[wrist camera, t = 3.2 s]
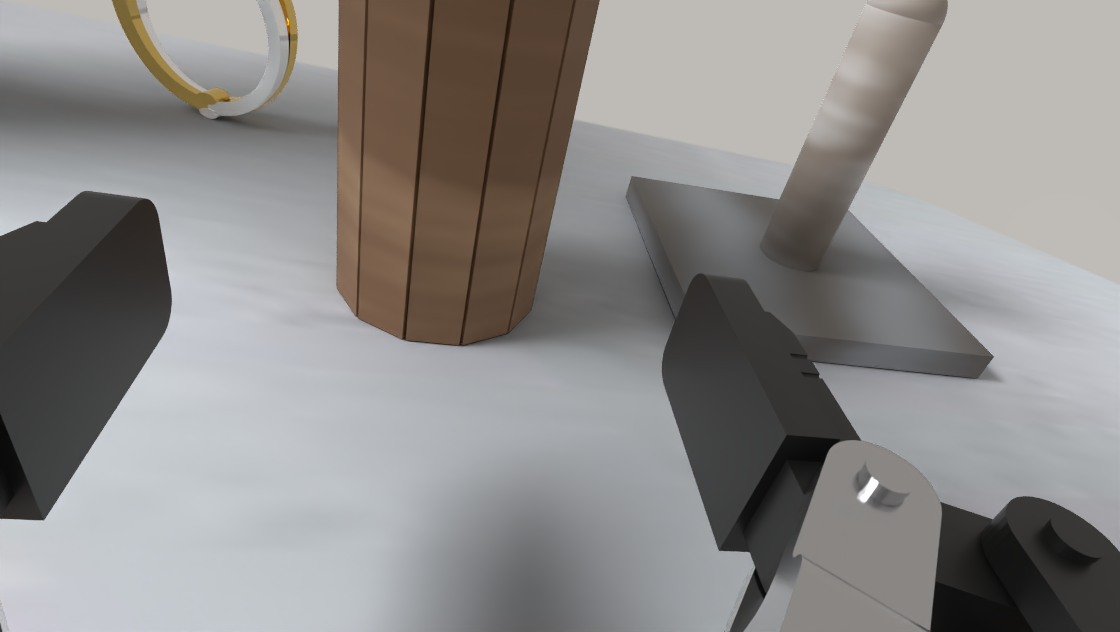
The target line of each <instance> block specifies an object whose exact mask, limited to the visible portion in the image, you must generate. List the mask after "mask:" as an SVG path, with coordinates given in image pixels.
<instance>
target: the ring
mask: <svg viewBox="0 0 1120 632" xmlns="http://www.w3.org/2000/svg"><path fill="white" fill-rule="evenodd" d="M256 1H257V3H258V5H259V8H260V11H261V13H262V16H263V20H264V23H265V27H266V32H267V37H268V61H267V66H266V70H265V73H264V75H263V77H262V79H261V81H260V83H259V84H258V86H257V87H256V88H255V89H254V90H253V91H252V92H251V93H250V94H248V95H247V96H242V97H230V96H229V94H228V93H227V92H226V91H225V90H223V89H220V88H213V89H209V90H206V89H205V88H203V87H201V86H199V85H198V84H196V83H195V82H194V81H192V80H191V79H190V78H188V77H187V76H186V75H185V74H184V73H183V72H182V71H181V70H180V69H179V68H178V67H177V66H176V65H175V64H174V62H173V61H172V60H171V59H170V57H169V56H168V54H167V53H166V52H165V50H164V48H163V47H162V45H161V43H160V42H159V40H158V38H157V36H156V34H155V31H154V29H153V27H152V24H151V21H150V18H149V14H148V10H147V4H146V0H112V2H113V5H114V8H115V11H116V14H117V17H118V19H119V21H120V24H121V26H122V28H123V30H124V32H125V34H126V36H127V38H128V40H129V42H130V43H131V45H132V47H133V48H134V50H135V52H136V53H137V55H138V56H139V58H140V59H141V60H142V62H143V63H144V64H145V66H146V67H147V68H148V69H149V71H150V72H151V73H152V74H153V75H154V76H155V77H156V78H157V79H158V81H159V82H160V83H162V84H163V85H164V86H165V87H166V88H167V89H168V90H169V91H171V92H172V93H173V94H174V95H176V96H177V97H178V98H180V99H181V100H183V101H185V102H186V103H188V104H190V105H191V106H193V107H195V108H198V109H200V113H201V114H202V115H203V116H205V117H207V118H210V119H215V118H218V117H221V116H236V115H241V114H245V113H248V112H252V111H254V110H257V109H259V108H262V107H264V106H266V105H267V104H269V103H270V102H272V101H273V100H274V99H275V98H276V97H277V96H278V95H279V94H280V93H281V91H282V90H283V89H284V87H285V85H286V84H287V82H288V80H289V78H290V75H291V73H292V70H293V66H294V63H295V58H296V51H297V38H298V37H297V22H296V16H295V11H294V7H293V4H292V1H291V0H256Z"/></svg>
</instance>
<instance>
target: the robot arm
mask: <svg viewBox="0 0 1120 632" xmlns="http://www.w3.org/2000/svg"><path fill="white" fill-rule="evenodd" d="M171 305H172V295H171V287H170V282H169V276H168V270H167V264H166V258H165V252H164V246H163V240H162V234H161V228H160V223H159V217H158V213H157V210H156V208H155V206H154V204H153V203H152V202H151V201H150V200H149V199H145V198H137V197H130V196H122V195H114V194H107V193H99V192H92V191H84V192H81V193H80V194H78V195H77V196H76V197H75V198H74V199H73V200H71V201H70V202H69V203H68V204H67V205H66V206H65V207H63V208H62V209H61V210H60V211H59V212H58V213H57V214H55V215H54V216H53V217H52V218H51V219H50V220H49V221H47V222H39V221H36V222H33V223H31V224H29V225H26V226H24V227H21V228H19V229H17V230H14V231H12V232H9V233H7V234H4V235H2V236H0V519H22V520H44V519H45V518H46V516H47V515H48V513H49V512H50V510H51V509H52V507H53V506H54V504H55V502H56V501H57V499H58V498H59V496H60V495H61V493H62V492H63V490H64V488H65V487H66V485H67V484H68V482H69V481H70V479H71V478H72V476H73V474H74V473H75V471H76V470H77V468H78V467H79V465H80V464H81V462H82V461H83V459H84V457H85V456H86V454H87V453H88V451H89V450H90V448H91V447H92V445H93V443H94V442H95V440H96V439H97V437H98V436H99V434H100V433H101V431H102V430H103V428H104V426H105V425H106V423H107V422H108V420H109V419H110V417H111V416H112V414H113V412H114V411H115V409H116V408H117V406H118V405H119V403H120V402H121V400H122V398H123V397H124V395H125V394H126V392H127V391H128V389H129V388H130V386H131V385H132V383H133V381H134V380H135V378H136V377H137V375H138V374H139V372H140V371H141V369H142V367H143V366H144V364H145V363H146V361H147V360H148V358H149V357H150V355H151V353H152V352H153V350H154V349H155V347H156V346H157V344H158V343H159V341H160V340H161V338H162V336H163V335H164V333H165V331H166V328H167V326H168V322H169V319H170V313H171ZM807 356H808V355H807V353H806V352H805V350H804V349H803V347H802V345H801V344H800V342H799V341H798V339H797V337H796V336H795V334H794V333H793V332H792V331H791V330H790V329H789V328H788V327H786V326H785V325H784V324H783V323H782V322H781V321H780V320H778V319H777V318H776V317H775V316H774V315H773V314H772V313H771V312H765V311H764V309H763V308H762V306H761V304H760V303H759V301H758V299H757V298H756V296H755V294H754V293H753V291H752V289H751V288H750V286H749V284H748V283H747V281H745V280H744V279H741V278H734V277H726V276H718V275H711V274H703V273H699V274H697V275H696V276H695V277H694V278H693V279H692V281H691V282H690V285H689V287H688V289H687V292H686V295H685V297H684V300H683V302H682V305H681V307H680V310H679V313H678V315H677V318H676V320H675V323H674V326H673V328H672V331H671V333H670V336H669V339H668V341H667V344H666V347H665V350H664V354H663V361H662V377H663V383H664V386H665V389H666V392H667V395H668V398H669V401H670V404H671V407H672V410H673V413H674V416H675V419H676V422H677V425H678V428H679V432H680V435H681V438H682V441H683V444H684V447H685V450H686V453H687V456H688V459H689V462H690V465H691V468H692V471H693V474H694V477H695V480H696V483H697V486H698V489H699V492H700V495H701V498H702V501H703V504H704V507H705V510H706V513H707V516H708V519H709V522H710V525H711V528H712V531H713V534H714V537H715V540H716V544H717V547H718V550H719V551H739V552H750V554H751V557H752V559H753V562H754V566H753V568H752V569H751V571H750V572H749V574H748V576H747V578H746V579H745V582H744V584H743V587H742V589H741V591H740V594H739V596H738V599H737V601H736V603H735V606H734V608H733V611H732V613H731V616H730V618H729V620H728V623H727V625H726V628H725V630H724V632H1120V552H1119V551H1118V549H1117V548H1116V547H1115V546H1114V545H1113V544H1112V543H1111V542H1110V541H1109V540H1108V539H1107V538H1106V537H1105V536H1104V535H1103V534H1102V533H1101V532H1099V531H1098V530H1097V529H1096V528H1095V527H1093V526H1092V525H1091V524H1089V523H1088V522H1087V521H1085V520H1084V519H1082V518H1081V517H1079V516H1078V515H1076V514H1074V513H1073V512H1071V511H1069V510H1067V509H1065V508H1063V507H1061V506H1059V505H1057V504H1055V503H1052V502H1050V501H1047V500H1043V499H1040V498H1035V497H1026V496H1023V497H1017V498H1015V499H1012V500H1011V501H1010V502H1009V503H1008V504H1007V505H1006V506H1005V507H1004V508H1003V509H1002V510H1001V512H1000V513H999V514H998V515H997V516H996V517H995V518H994V519H990V518H987V517H984V516H981V515H978V514H975V513H972V512H969V511H966V510H963V509H960V508H957V507H954V506H951V505H948V504H945V503H942V502H940V500H939V498H938V496H937V494H936V492H935V490H934V489H933V487H932V485H931V484H930V483H929V482H928V480H927V479H926V478H925V477H924V476H923V475H922V474H921V473H920V472H919V471H918V470H917V469H916V468H915V467H914V466H912V465H911V464H910V463H909V462H907V461H906V460H904V459H903V458H902V457H900V456H898V455H897V454H895V453H893V452H891V451H890V450H887V449H885V448H883V447H881V446H878V445H875V444H872V443H868V442H864V441H861V439H860V438H859V436H858V435H857V433H856V431H855V430H854V428H853V427H852V425H851V423H850V422H849V420H848V419H847V417H846V416H845V414H844V412H843V411H842V409H841V408H840V406H839V404H838V403H837V401H836V400H835V398H834V396H833V395H832V393H831V392H830V390H829V388H828V387H827V385H826V384H825V382H824V380H823V379H820V378H819V372H818V371H817V369H816V368H815V366H814V364H813V363H812V361H811V360H807ZM0 632H9V628H8V625H7V621H6V618H5V614H4V611H3V607H2V603H1V600H0Z"/></svg>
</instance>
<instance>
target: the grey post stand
mask: <svg viewBox="0 0 1120 632" xmlns="http://www.w3.org/2000/svg"><path fill="white" fill-rule="evenodd" d="M947 7H948V1H947V0H867V2H866V4H865V7H864V9H863V11H862V13H861V15H860V18H859V20H858V22H857V25H856V27H855V29H854V31H853V34H852V36H851V38H850V40H849V43H848V45H847V47H846V49H845V52H844V54H843V57H842V59H841V61H840V63H839V65H838V68H837V70H836V72H835V75H834V77H833V79H832V81H831V84H830V86H829V88H828V91H827V93H826V95H825V97H824V100H823V102H822V104H821V107H820V109H819V111H818V114H817V116H816V118H815V120H814V122H813V125H812V127H811V129H810V131H809V134H808V136H807V139H806V141H805V143H804V145H803V147H802V150H801V152H800V154H799V157H798V159H797V161H796V163H795V166H794V168H793V170H792V172H791V175H790V177H789V179H788V182H787V184H786V186H785V188H784V191H783V193H782V195H781V198H780V200H779V199H772V198H766V197H760V196H753V195H747V194H741V193H734V192H728V191H722V190H715V189H709V188H703V187H696V186H690V185H684V184H677V183H671V182H665V181H658V180H652V179H646V178H639V177H633V176H632V177H631V180H630V184H629V187H628V191H627V194H626V198H627V201H628V203H629V205H630V208H631V210H632V213H633V215H634V218H635V220H636V223H637V225H638V228H639V230H640V233H641V235H642V238H643V240H644V242H645V245H646V247H647V250H648V252H649V255H650V257H651V260H652V262H653V265H654V267H655V270H656V272H657V274H658V277H659V279H660V282H661V284H662V287H663V289H664V292H665V294H666V297H667V299H668V302H669V304H670V307H671V309H672V311H673V314H674V316H675V319H676V318H677V315H678V313H679V310H680V307H681V305H682V302H683V300H684V297H685V295H686V292H687V289H688V287H689V285H690V282H691V281H692V279H693V278H694V277H695V276H696V275H697V274H699V273H703V274H711V275H718V276H726V277H734V278H741V279H744V280H745V281H747V283H748V284H749V286H750V288H751V289H752V291H753V293H754V294H755V296H756V298H757V299H758V301H759V303H760V304H761V306H762V308H763V309H764V311H765V312H771V313H772V314H773V315H774V316H775V317H776V318H777V319H778V320H780V321H781V322H782V323H783V324H784V325H785V326H786V327H788V328H789V329H790V330H791V331H792V332H793V333H794V334H795V336H796V337H797V339H798V341H799V342H800V344H801V345H802V347H803V349H804V350H805V352H806V353H807V355H808V356H807V360H811V361H817V362H826V363H836V364H845V365H855V366H865V367H874V368H884V369H893V370H903V371H912V372H922V373H932V374H941V375H951V376H960V377H970V378H978V377H979V376H980V374H981V373H982V372H983V370H984V369H985V368H986V366H987V365H988V364H989V363H990V361H991V360H992V359H993V357H994V356H993V355H992V354H991V353H990V352H989V351H988V350H987V349H986V348H985V347H984V346H983V345H982V344H981V343H980V342H979V341H978V340H977V339H976V338H975V337H974V336H973V335H972V334H971V333H970V332H969V331H968V330H967V329H966V328H965V327H964V326H963V325H962V324H961V323H960V322H959V321H958V320H957V319H956V318H955V317H954V316H953V315H952V314H951V313H950V312H949V311H948V310H947V309H946V308H945V307H944V306H943V305H942V304H941V303H940V302H939V301H938V300H937V299H936V298H935V297H934V296H933V295H932V294H931V293H930V292H929V291H928V290H927V289H926V288H925V287H924V286H923V285H922V284H921V283H920V282H919V281H918V280H917V279H916V278H915V277H914V276H913V275H912V274H911V273H910V272H909V271H908V270H907V269H906V268H905V267H904V266H903V265H902V264H901V263H900V262H899V261H898V260H897V259H896V258H895V257H894V256H893V255H892V254H891V253H890V252H889V251H888V250H887V249H886V248H885V247H884V246H883V245H882V244H881V243H880V242H879V241H878V240H877V239H876V238H875V237H874V236H873V235H872V234H871V233H870V232H869V231H868V230H867V229H866V228H865V227H864V226H863V225H862V224H861V223H860V222H859V220H858V219H857V218H856V217H855V216H854V215H853V214H852V213H851V212H850V211H848V209H849V207H850V205H851V203H852V201H853V199H854V197H855V195H856V193H857V191H858V189H859V187H860V185H861V183H862V181H863V179H864V177H865V175H866V173H867V171H868V169H869V167H870V165H871V164H872V162H873V160H874V158H875V155H876V153H877V152H878V150H879V148H880V146H881V144H882V142H883V140H884V138H885V136H886V134H887V132H888V130H889V128H890V126H891V124H892V122H893V120H894V119H895V116H896V114H897V113H898V111H899V109H900V107H901V105H902V103H903V101H904V99H905V97H906V95H907V93H908V91H909V89H910V87H911V85H912V83H913V81H914V79H915V77H916V75H917V73H918V72H919V69H920V68H921V66H922V64H923V62H924V60H925V58H926V56H927V54H928V52H929V50H930V47H931V46H932V44H933V42H934V40H935V38H936V36H937V34H938V32H939V30H940V28H941V26H942V24H943V22H944V20H945V17H946V14H947Z"/></svg>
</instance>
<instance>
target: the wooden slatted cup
mask: <svg viewBox="0 0 1120 632" xmlns="http://www.w3.org/2000/svg"><path fill="white" fill-rule="evenodd" d="M599 1H600V0H339V52H338V53H339V54H338V55H339V56H338V58H339V59H338V179H337V289H338V291H339V292H340V294H341V295H342V297H343V298H344V300H345V301H346V302H347V304H348V305H349V307H350V308H351V310H352V311H353V313H354V314H355V316H358V318H359V319H361V320H363V321H365V322H367V323H369V324H371V325H373V326H375V327H378V328H380V329H382V330H384V331H386V332H388V333H390V334H392V335H394V336H396V337H399V338H401V339H403V338H404V337H405V336H406V340H410V341H420V342H430V343H441V344H451V345H459V343H460V342H461V344H462V345H465V344H469V343H473V342H477V341H480V340H484V339H488V338H492V337H496V336H500V335H504V334H507V332H510V331H511V330H512V329H513V328H514V327H515V326H516V325H517V324H518V323H519V322H520V321H521V320H522V319H523V318H524V317H525V316H526V315H527V314H528V313H529V312H530V311H531V308H532V304H533V300H534V295H535V291H536V286H537V282H538V277H539V273H540V268H541V264H542V259H543V255H544V250H545V246H546V241H547V236H548V232H549V227H550V223H551V218H552V214H553V209H554V205H555V200H556V196H557V191H558V187H559V182H560V178H561V173H562V168H563V164H564V159H565V155H566V150H567V146H568V141H569V137H570V132H571V128H572V123H573V119H574V114H575V110H576V105H577V100H578V96H579V91H580V87H581V82H582V78H583V73H584V69H585V64H586V60H587V55H588V50H589V46H590V41H591V37H592V32H593V28H594V24H595V18H596V14H597V10H598V5H599Z"/></svg>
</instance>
